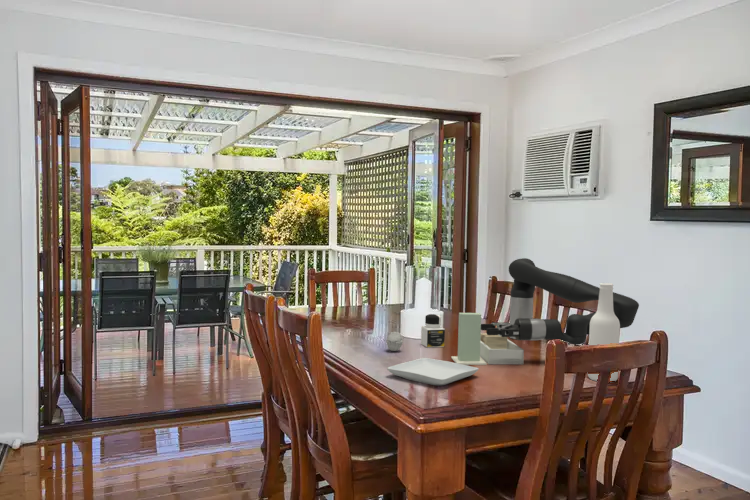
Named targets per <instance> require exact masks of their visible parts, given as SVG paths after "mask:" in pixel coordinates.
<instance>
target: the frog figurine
mask: <svg viewBox="0 0 750 500" xmlns="http://www.w3.org/2000/svg"><path fill="white" fill-rule="evenodd" d="M403 343H404V340H403V337H402V335H401V333H400V332H398V331H391V332H390V333H389V334H388V337H387V339H386V345H387V348H388V350H389V351H391V352H397V351H399V350H400V349H401V347H402V345H403Z"/></svg>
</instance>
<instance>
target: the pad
mask: <svg viewBox="0 0 750 500" xmlns="http://www.w3.org/2000/svg"><path fill="white" fill-rule="evenodd" d="M450 357H451V360H453V361H454V362H453V363H458V364H463V365H467V366H487V364H488V363H487V362H486V361H485V360H483V359H482V358H481V357H480V361H459V360H458V355H456V356H455V355H454V356H453V355H452V356H450Z"/></svg>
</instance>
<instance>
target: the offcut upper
mask: <svg viewBox="0 0 750 500" xmlns="http://www.w3.org/2000/svg"><path fill="white" fill-rule="evenodd" d="M507 339H508V337H501V336H498V335H487V332H485V333H482V332H481V338H480V340H481V341H483V342H484V343H507Z"/></svg>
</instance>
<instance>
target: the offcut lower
mask: <svg viewBox="0 0 750 500" xmlns="http://www.w3.org/2000/svg"><path fill="white" fill-rule="evenodd" d="M482 342H483V341H482ZM483 343H484V342H483ZM484 344H486V345H487V346H488V347H489V348H491V349H507V343H484Z"/></svg>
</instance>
